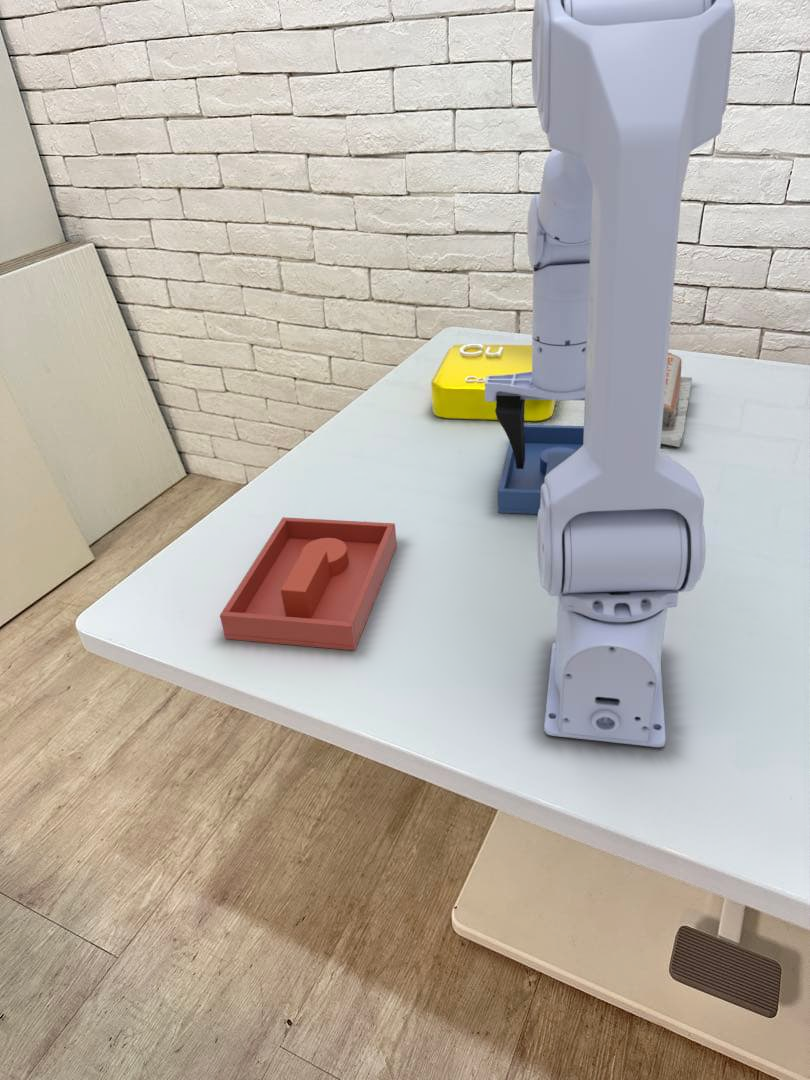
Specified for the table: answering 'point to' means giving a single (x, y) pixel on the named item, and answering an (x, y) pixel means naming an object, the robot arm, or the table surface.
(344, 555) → the red spoon
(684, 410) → the packaged product
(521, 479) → the blue tray
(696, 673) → the table surface
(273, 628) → the red tray
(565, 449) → the blue spoon
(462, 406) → the element tile
